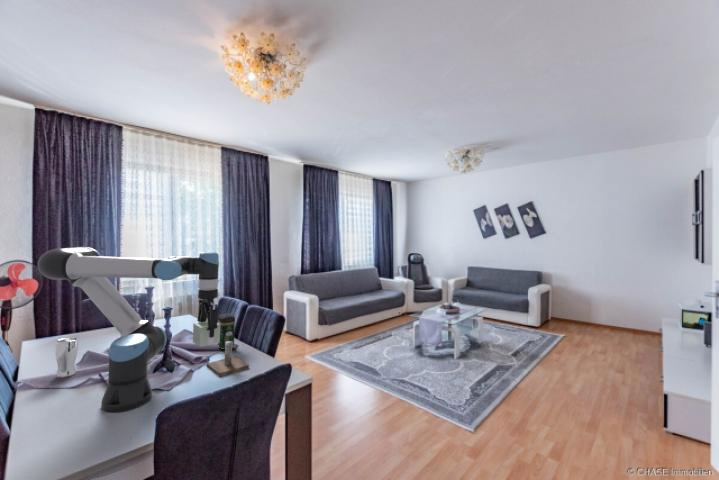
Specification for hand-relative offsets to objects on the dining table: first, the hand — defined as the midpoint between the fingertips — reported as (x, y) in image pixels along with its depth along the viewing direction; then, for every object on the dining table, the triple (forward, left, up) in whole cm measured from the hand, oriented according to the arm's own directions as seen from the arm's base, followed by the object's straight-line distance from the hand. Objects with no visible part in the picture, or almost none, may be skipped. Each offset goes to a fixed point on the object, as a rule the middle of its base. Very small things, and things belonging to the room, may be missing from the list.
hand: (206, 341), depth 134 cm
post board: (+13, +8, -17) cm, 23 cm away
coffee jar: (+23, +33, -18) cm, 44 cm away
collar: (0, 0, 0) cm, 0 cm away
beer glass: (-41, +44, -18) cm, 62 cm away
